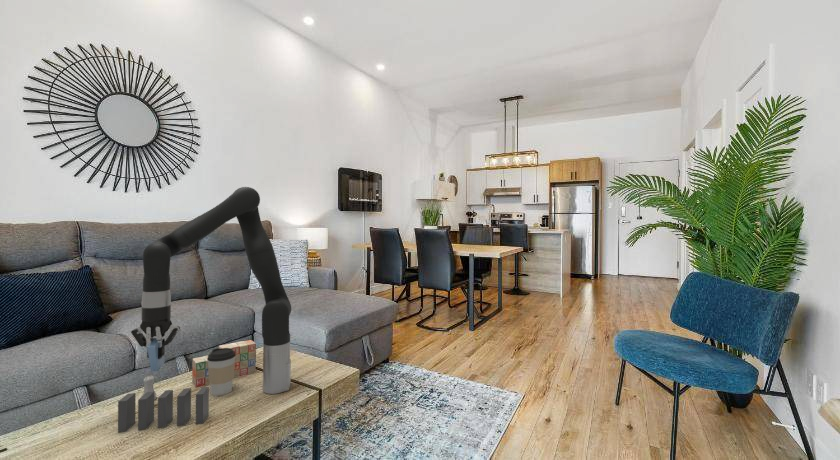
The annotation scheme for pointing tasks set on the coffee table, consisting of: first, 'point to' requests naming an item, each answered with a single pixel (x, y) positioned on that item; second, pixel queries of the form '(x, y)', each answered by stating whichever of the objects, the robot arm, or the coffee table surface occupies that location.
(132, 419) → the domino
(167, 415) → the domino
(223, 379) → the coffee cup
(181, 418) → the domino
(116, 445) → the coffee table surface
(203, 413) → the domino
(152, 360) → the tile
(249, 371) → the stack of blocks
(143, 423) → the domino
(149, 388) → the rook chess piece
